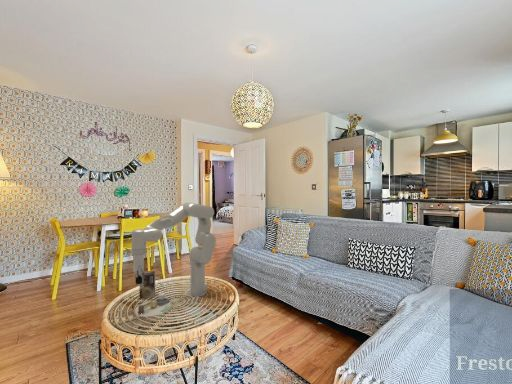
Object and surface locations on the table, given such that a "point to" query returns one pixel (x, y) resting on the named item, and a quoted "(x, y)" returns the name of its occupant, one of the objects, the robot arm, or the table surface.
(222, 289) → the table surface
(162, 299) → the lock button
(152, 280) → the coffee box
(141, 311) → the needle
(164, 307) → the dial plate
